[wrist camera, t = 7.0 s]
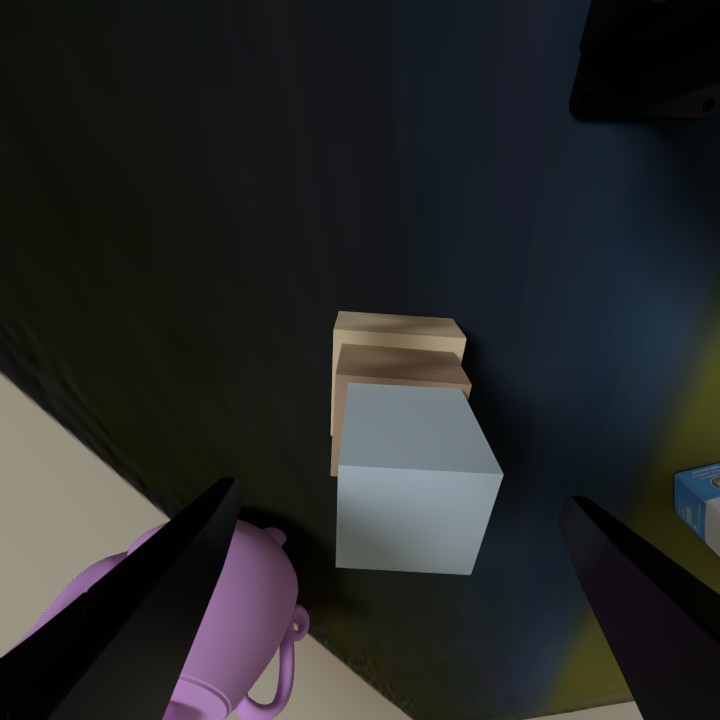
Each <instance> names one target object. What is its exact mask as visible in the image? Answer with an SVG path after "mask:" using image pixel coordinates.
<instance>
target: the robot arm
mask: <svg viewBox="0 0 720 720" xmlns="http://www.w3.org/2000/svg"><path fill="white" fill-rule="evenodd" d="M580 51H581V54H582V56H581V59H580V63H579V67H578V70H577V74H576V78H575V82H574V85H573V89H572V93H571V96H570V101H569V106H570V110H571V111H572V112H574V113H577V114H593V115H609V116H626V117H643V118H660V119H677V120H693V121H695V120H700V119H704V118H708V117H710V116H711V115H713V114H714V113H715V112H716V111H717V109H718V107H719V106H720V0H592V1H591V5H590V9H589V12H588V16H587V20H586V24H585V27H584V31H583V35H582V39H581V42H580ZM582 93H584V94H585V95H586V102H585V104H584V105H583V104H581V102H580V96H581V94H582ZM705 101H706V104H707V105H706V108H705V110H704V111H703V110H702V105H703V103H704V102H705ZM241 505H242V496H241V491H240V485H239V481H238V479H237V478H227V477H224V478H221V479H220V480H218V481H217V482H216V483H215V484H214V485H212V486H211V487H210V488H209V489H208V490H206V491H205V492H204V493H203V494H202V495H200V496H199V497H198V498H197V499H196V500H194V501H193V502H192V503H191V504H190V505H188V506H187V507H186V508H185V509H183V510H182V511H181V512H180V513H179V514H177V515H176V516H175V517H174V518H173V519H171V520H170V521H169V522H168V523H167V524H165V525H164V526H163V527H162V528H161V529H159V530H158V531H157V532H156V533H155V534H153V535H152V536H151V537H150V538H149V539H147V540H146V541H145V542H144V543H143V544H141V545H140V546H139V547H138V548H137V549H135V550H134V551H133V552H132V553H131V554H129V555H128V556H127V557H126V558H124V559H123V560H122V561H121V562H120V563H118V564H117V565H116V566H115V567H114V568H112V569H111V570H110V571H109V572H108V573H106V574H105V575H104V576H103V577H102V578H100V579H99V580H98V581H97V582H96V583H94V584H93V585H92V586H91V587H90V588H88V590H87V592H84V593H82V594H81V595H80V596H79V597H77V598H76V599H75V600H74V601H73V602H71V603H70V604H69V605H68V606H66V607H65V608H64V609H63V610H62V611H60V612H59V613H58V614H57V615H55V616H54V617H53V618H52V619H50V620H49V621H48V622H47V623H45V624H44V625H43V626H42V627H40V628H39V629H38V630H37V631H35V632H34V633H33V634H32V635H30V636H29V637H28V638H26V639H25V640H24V641H22V642H21V643H20V644H19V645H17V646H16V647H15V648H13V649H12V650H11V651H9V652H8V653H7V654H5V655H4V656H3V657H1V658H0V720H162V719H163V717H164V714H165V712H166V709H167V707H168V704H169V702H170V699H171V697H172V694H173V692H174V689H175V687H176V684H177V682H178V679H179V677H180V674H181V672H182V669H183V667H184V664H185V662H186V660H187V657H188V655H189V652H190V650H191V647H192V645H193V642H194V640H195V637H196V635H197V632H198V630H199V627H200V625H201V622H202V620H203V617H204V615H205V612H206V610H207V607H208V605H209V602H210V600H211V597H212V595H213V592H214V590H215V587H216V585H217V582H218V580H219V577H220V575H221V572H222V570H223V567H224V564H225V561H226V558H227V554H228V551H229V547H230V544H231V541H232V537H233V534H234V530H235V527H236V523H237V520H238V516H239V513H240V510H241ZM559 524H560V527H561V530H562V533H563V536H564V538H565V541H566V544H567V547H568V550H569V552H570V555H571V558H572V561H573V564H574V566H575V569H576V572H577V575H578V577H579V580H580V582H581V585H582V587H583V590H584V592H585V594H586V596H587V599H588V601H589V603H590V605H591V607H592V609H593V612H594V614H595V616H596V618H597V620H598V622H599V624H600V627H601V629H602V631H603V633H604V635H605V637H606V640H607V642H608V644H609V646H610V648H611V650H612V652H613V655H614V657H615V659H616V661H617V663H618V665H619V668H620V670H621V672H622V674H623V676H624V678H625V681H626V683H627V685H628V687H629V689H630V691H631V693H632V696H633V698H634V700H635V702H636V704H637V706H638V708H639V711H640V713H641V715H642V717H643V719H644V720H720V594H718V593H717V592H716V591H714V590H713V589H711V588H710V587H709V586H707V585H706V584H705V583H703V582H702V581H701V580H699V579H698V578H696V577H695V576H694V575H692V574H691V573H690V572H688V571H687V570H686V569H684V568H683V567H681V566H680V565H679V564H677V563H676V562H675V561H673V560H672V559H671V558H669V557H668V556H667V555H665V554H664V553H662V552H661V551H660V550H658V549H657V548H656V547H654V546H653V545H652V544H650V543H649V542H647V541H646V540H645V539H643V538H642V537H641V536H639V535H638V534H637V533H635V532H634V531H632V530H631V529H630V528H628V527H627V526H626V525H624V524H623V523H622V522H620V521H619V520H618V519H616V518H615V517H613V516H612V515H611V514H609V513H608V512H607V511H605V510H604V509H603V508H601V507H600V506H598V505H597V504H596V503H594V502H593V501H592V500H590V499H589V498H587V497H584V496H569V497H568V498H567V499H566V501H565V504H564V506H563V508H562V510H561V512H560V515H559Z"/></svg>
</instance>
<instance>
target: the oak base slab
mask: <svg viewBox="0 0 720 720" xmlns="http://www.w3.org/2000/svg"><path fill="white" fill-rule="evenodd" d="M466 339H467V338H466V337H465V335H464V334H463V333H462V331H461V330H460V328H459V327H458V326H457V324H456V323H455V322H454V320H453V319H446V318H431V317H417V316H402V315H388V314H373V313H358V312H344V311H339V313H338V317H337V320H336V323H335V327H334V338H333V374H332V410H331V435H333V417H334V396H335V375H336V369H337V364H338V360H339V355H340V350H341V345H342V343H345V344H358V345H370V346H383V347H395V348H408V349H420V350H432V351H445V352H453V353H454V354H455V356H456V358H457V360H458V361H459V363H460V365H461V362H462V357H463V353H464V348H465V344H466Z"/></svg>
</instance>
